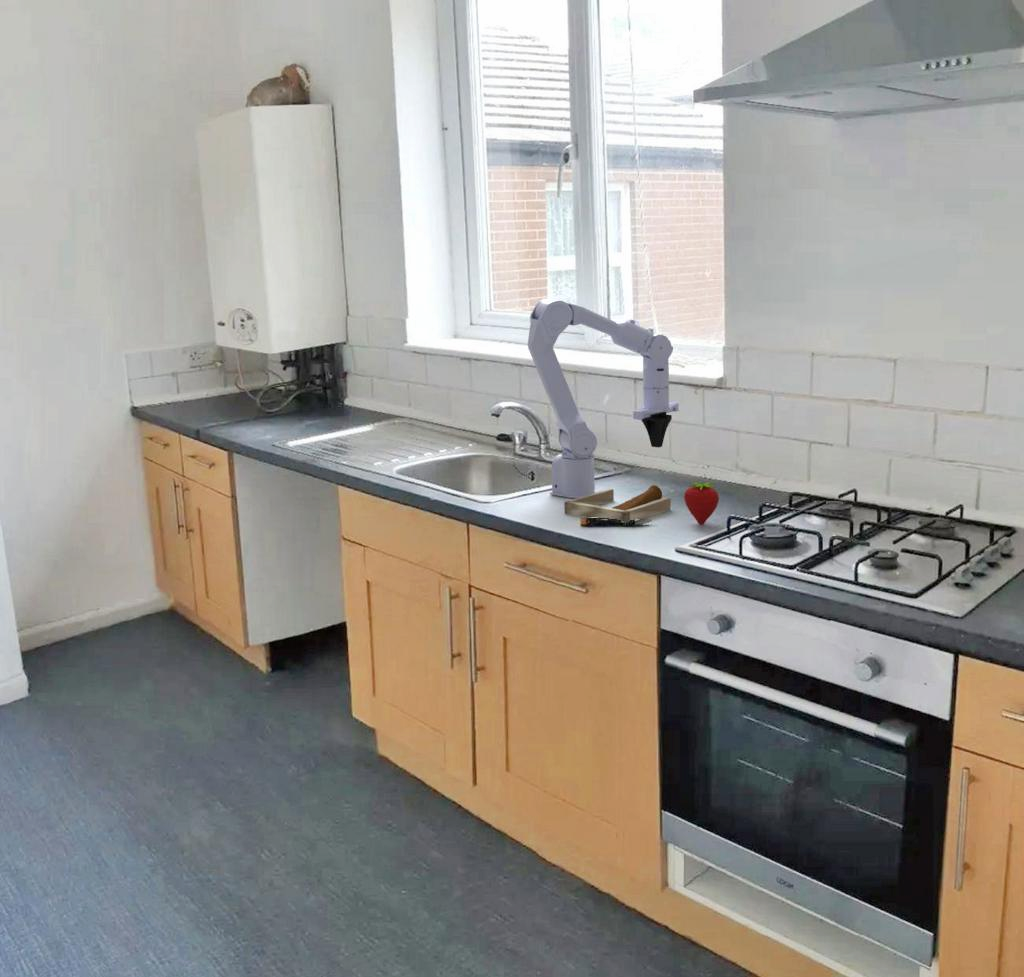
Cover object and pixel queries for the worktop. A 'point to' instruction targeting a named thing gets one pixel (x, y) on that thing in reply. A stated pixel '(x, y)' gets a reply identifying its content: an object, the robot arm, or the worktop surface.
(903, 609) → the worktop surface
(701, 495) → the strawberry
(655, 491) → the primitive tool
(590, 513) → the box
